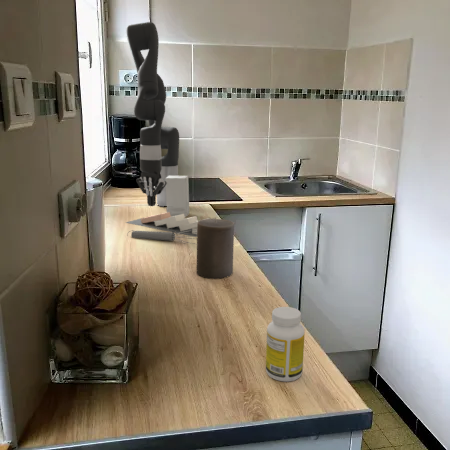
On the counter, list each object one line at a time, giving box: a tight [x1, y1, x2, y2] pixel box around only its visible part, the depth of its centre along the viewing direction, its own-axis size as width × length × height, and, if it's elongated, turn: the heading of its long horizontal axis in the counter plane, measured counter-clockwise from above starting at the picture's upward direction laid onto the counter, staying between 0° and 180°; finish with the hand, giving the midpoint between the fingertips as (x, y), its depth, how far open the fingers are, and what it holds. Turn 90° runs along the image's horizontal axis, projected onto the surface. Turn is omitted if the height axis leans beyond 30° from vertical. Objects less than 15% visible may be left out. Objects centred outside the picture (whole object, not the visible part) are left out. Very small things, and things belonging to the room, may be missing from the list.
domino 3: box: [167, 215, 199, 228], centre depth 169 cm, size 5×2×10 cm
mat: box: [125, 217, 197, 236], centre depth 173 cm, size 10×32×1 cm, turn 57°
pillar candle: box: [196, 217, 236, 279], centre depth 127 cm, size 10×10×15 cm
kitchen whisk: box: [126, 229, 197, 245], centre depth 154 cm, size 6×34×6 cm, turn 70°
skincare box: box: [165, 175, 190, 218], centre depth 190 cm, size 8×7×16 cm
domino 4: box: [179, 217, 211, 231], centre depth 166 cm, size 5×2×10 cm
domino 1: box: [141, 212, 172, 223], centre depth 176 cm, size 5×2×10 cm
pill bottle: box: [265, 306, 305, 382], centre depth 80 cm, size 6×6×11 cm
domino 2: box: [154, 214, 186, 226], centre depth 172 cm, size 5×2×10 cm
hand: (151, 205), depth 176 cm, fingers closed
